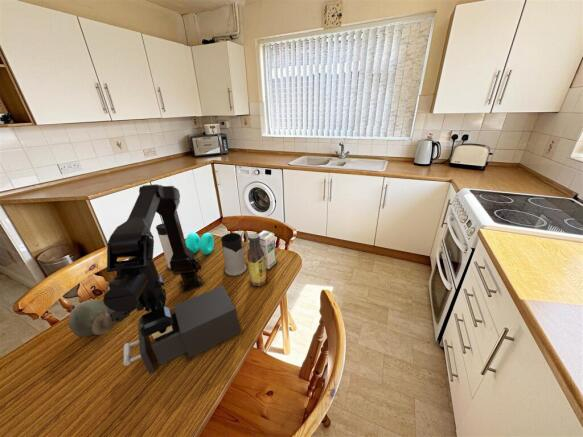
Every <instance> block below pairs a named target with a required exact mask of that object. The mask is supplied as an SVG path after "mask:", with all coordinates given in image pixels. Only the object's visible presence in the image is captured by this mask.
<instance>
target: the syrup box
mask: <svg viewBox="0 0 583 437" xmlns="http://www.w3.org/2000/svg"><path fill="white" fill-rule="evenodd" d="M258 234H259V236H260V239H259V240H260V246H261V248H262V250H263V252H264V256H265V267H266V270H270V269H271V268H272V267H273V266H274V265H275V264H276V263H278V261H277V259H278V258H277V250H276V249H277V248H276V240H275V238H276V237H275V233H274V232H271V231H268V230H262V231H260V232H258Z"/></svg>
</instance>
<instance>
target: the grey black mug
mask: <svg viewBox="0 0 583 437" xmlns="http://www.w3.org/2000/svg"><path fill="white" fill-rule="evenodd" d="M244 234H246V243H245V246H243V236H244ZM248 236H249V233H248V231H242V232H241V234H239V233H238V232H230V233H226V234H223V235H222V236H221V238H220V241H221V249H222V255H223V260H224V265H225V266H224V267H225V269H224V271H225V274H226V275H228V276H239V275H241V274H244V273H245V271H246V270H247V268H248V267H247V265H246V262H245V261H246V260H245V254H246V251H247V249H248V246H249V240H248ZM243 247H244V248H243Z"/></svg>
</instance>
